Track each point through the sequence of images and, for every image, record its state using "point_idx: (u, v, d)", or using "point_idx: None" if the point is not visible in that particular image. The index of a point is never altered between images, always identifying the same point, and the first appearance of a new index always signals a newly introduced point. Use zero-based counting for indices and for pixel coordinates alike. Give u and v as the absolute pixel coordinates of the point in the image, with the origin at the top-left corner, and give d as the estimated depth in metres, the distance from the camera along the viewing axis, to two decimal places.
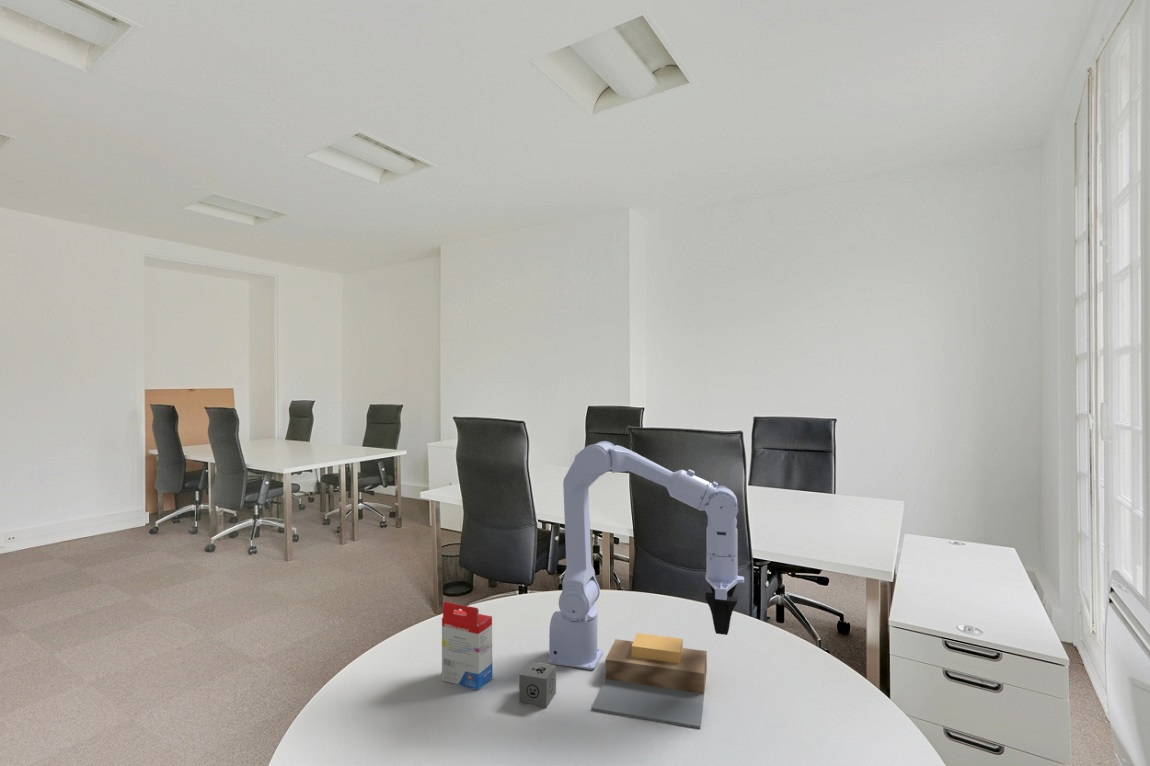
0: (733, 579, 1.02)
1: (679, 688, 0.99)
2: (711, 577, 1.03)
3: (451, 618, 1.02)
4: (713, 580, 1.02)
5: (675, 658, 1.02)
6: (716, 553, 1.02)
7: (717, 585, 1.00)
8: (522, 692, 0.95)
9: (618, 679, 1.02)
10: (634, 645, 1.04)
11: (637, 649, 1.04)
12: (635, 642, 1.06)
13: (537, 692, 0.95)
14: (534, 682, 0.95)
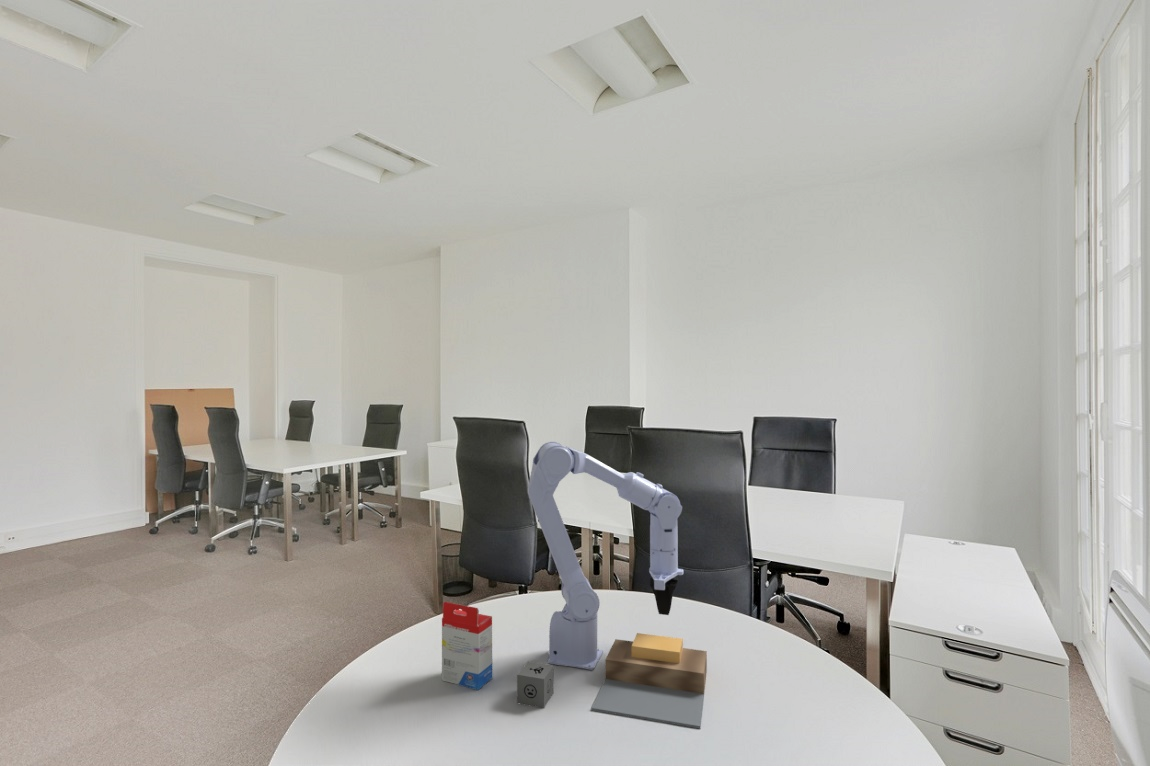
0: (673, 571, 1.13)
1: (679, 688, 0.99)
2: (653, 570, 1.14)
3: (451, 618, 1.02)
4: (655, 572, 1.13)
5: (675, 658, 1.02)
6: (664, 549, 1.12)
7: (657, 577, 1.11)
8: (519, 692, 0.95)
9: (618, 679, 1.02)
10: (634, 645, 1.04)
11: (637, 649, 1.04)
12: (635, 642, 1.06)
13: (535, 692, 0.95)
14: (531, 682, 0.95)
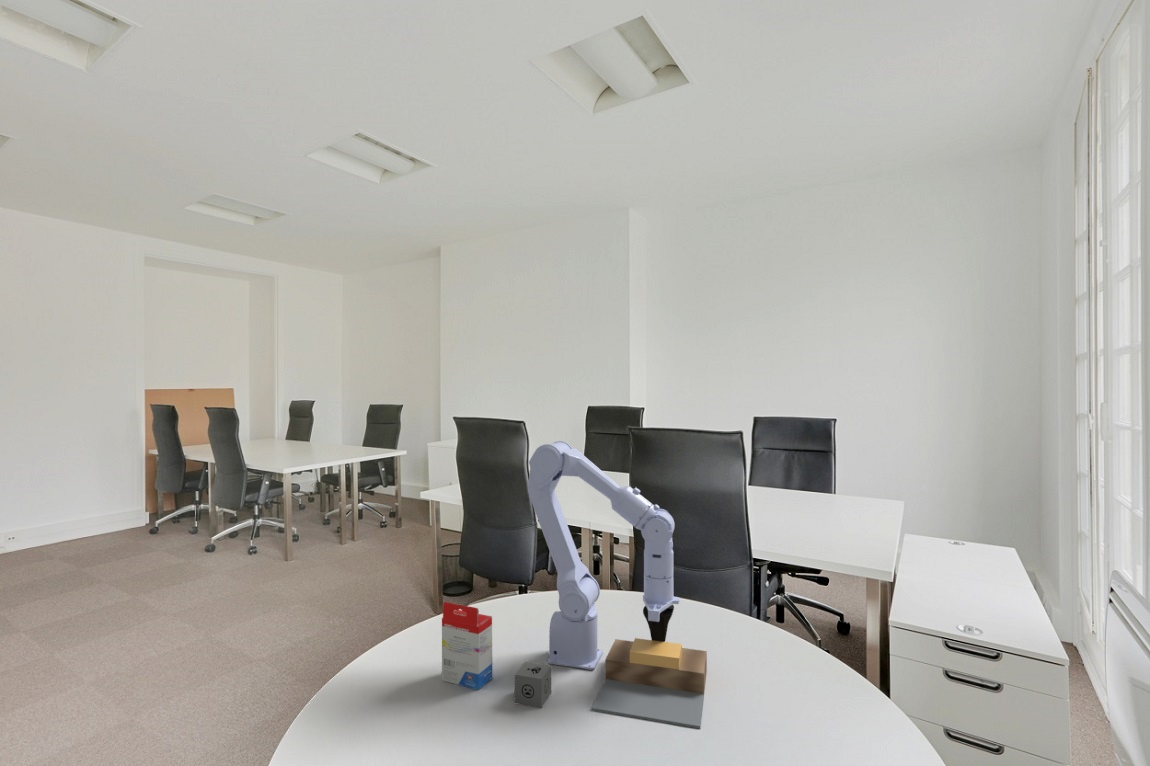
0: (668, 600, 1.05)
1: (679, 688, 0.99)
2: (647, 598, 1.06)
3: (451, 618, 1.02)
4: (649, 601, 1.05)
5: (674, 664, 0.99)
6: (652, 575, 1.05)
7: (651, 607, 1.03)
8: (517, 692, 0.95)
9: (618, 679, 1.02)
10: (632, 651, 1.02)
11: (635, 655, 1.01)
12: (633, 648, 1.03)
13: (532, 692, 0.95)
14: (529, 682, 0.95)
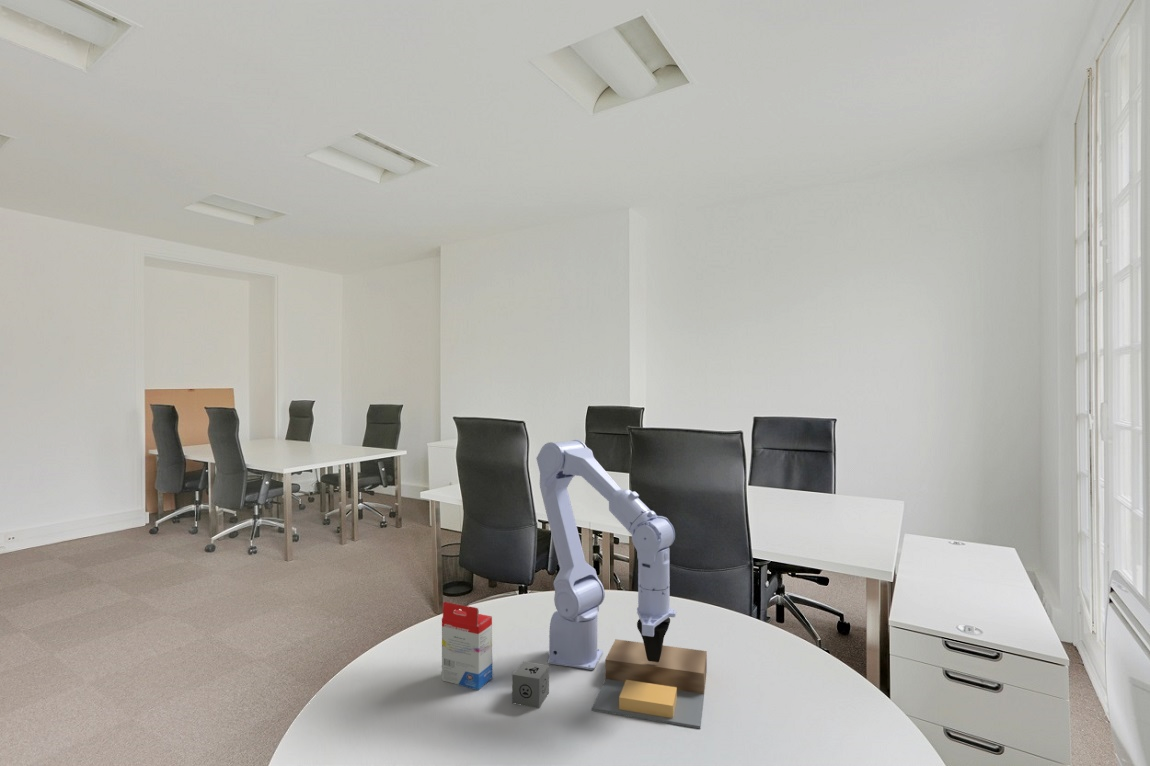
0: (663, 613, 0.99)
1: (679, 688, 0.99)
2: (641, 611, 1.00)
3: (451, 618, 1.02)
4: (643, 614, 0.99)
5: None
6: (641, 585, 1.00)
7: (646, 620, 0.97)
8: (515, 692, 0.95)
9: (618, 679, 1.02)
10: None
11: None
12: None
13: (530, 692, 0.95)
14: (527, 682, 0.95)
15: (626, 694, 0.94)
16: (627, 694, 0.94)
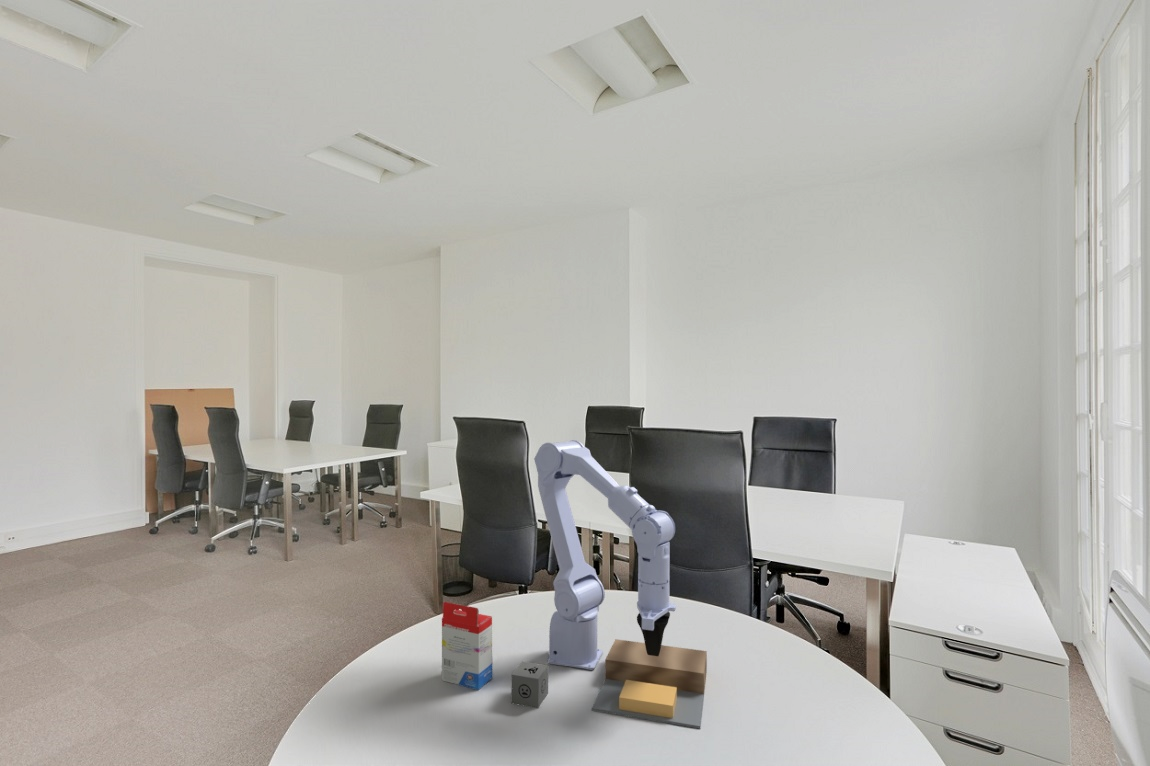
0: (663, 607, 0.99)
1: (679, 688, 0.99)
2: (641, 605, 1.00)
3: (451, 618, 1.02)
4: (643, 608, 0.99)
5: None
6: (641, 579, 1.00)
7: (645, 614, 0.97)
8: (514, 692, 0.95)
9: (618, 679, 1.02)
10: None
11: None
12: None
13: (529, 692, 0.95)
14: (526, 682, 0.95)
15: (626, 694, 0.94)
16: (627, 694, 0.94)
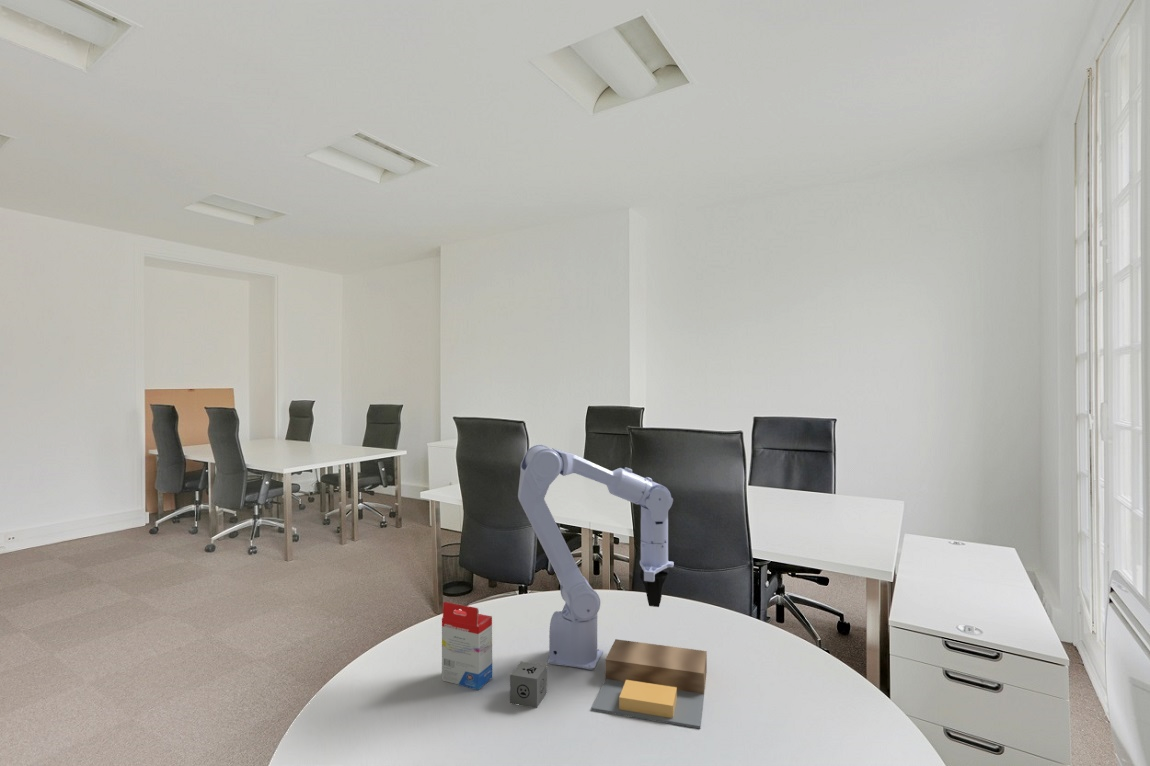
0: (663, 564, 1.13)
1: (679, 688, 0.99)
2: (643, 562, 1.14)
3: (451, 618, 1.02)
4: (645, 565, 1.14)
5: None
6: (655, 541, 1.13)
7: (647, 569, 1.11)
8: (512, 692, 0.95)
9: (618, 679, 1.02)
10: None
11: None
12: None
13: (528, 692, 0.95)
14: (524, 682, 0.95)
15: (626, 694, 0.94)
16: (627, 694, 0.94)
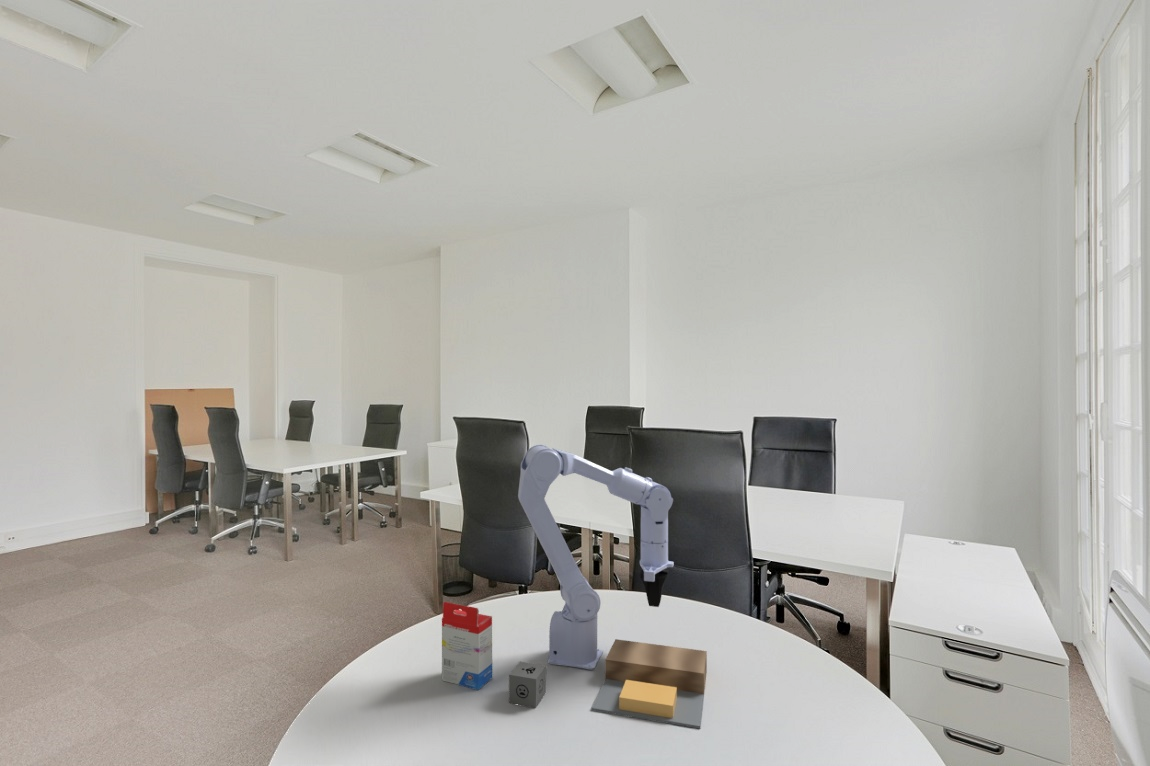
0: (663, 564, 1.13)
1: (679, 688, 0.99)
2: (643, 562, 1.14)
3: (451, 618, 1.02)
4: (645, 564, 1.14)
5: None
6: (655, 541, 1.13)
7: (647, 569, 1.11)
8: (511, 692, 0.95)
9: (618, 679, 1.02)
10: None
11: None
12: None
13: (527, 692, 0.95)
14: (523, 682, 0.95)
15: (626, 694, 0.94)
16: (627, 694, 0.94)
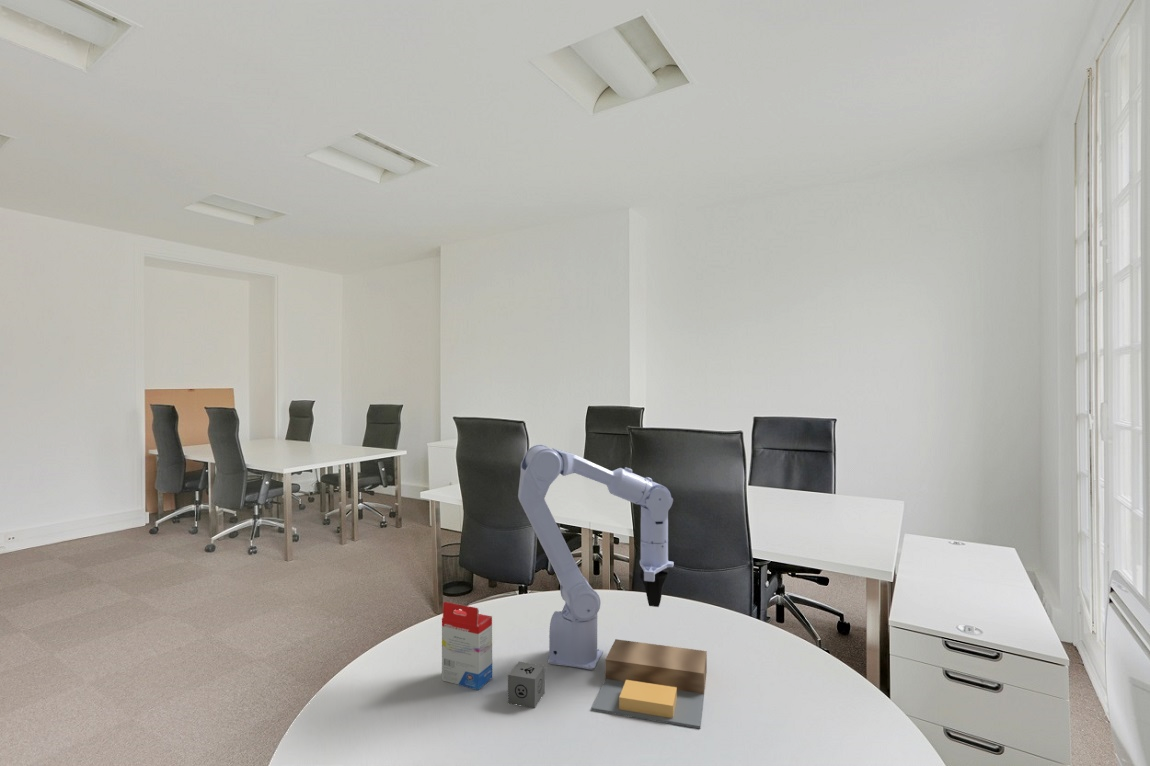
0: (663, 564, 1.13)
1: (679, 688, 0.99)
2: (643, 562, 1.14)
3: (451, 618, 1.02)
4: (645, 564, 1.14)
5: None
6: (655, 541, 1.13)
7: (647, 569, 1.11)
8: (510, 692, 0.95)
9: (618, 679, 1.02)
10: None
11: None
12: None
13: (525, 692, 0.95)
14: (522, 682, 0.95)
15: (626, 694, 0.94)
16: (627, 694, 0.94)
